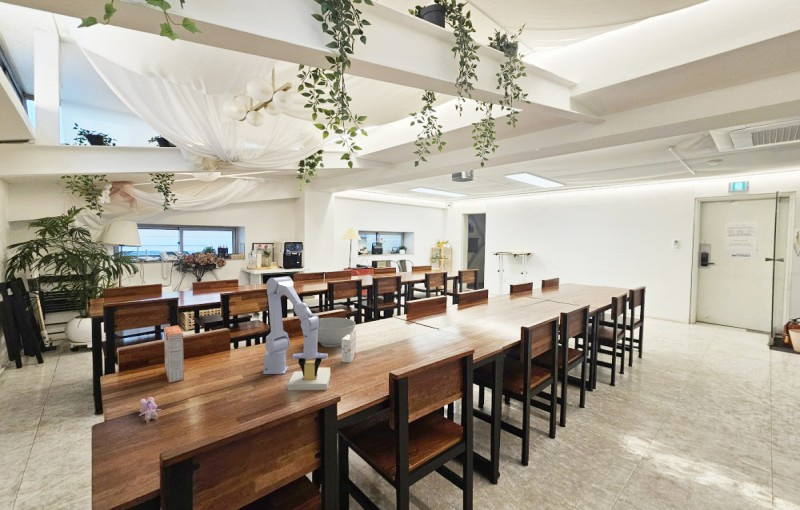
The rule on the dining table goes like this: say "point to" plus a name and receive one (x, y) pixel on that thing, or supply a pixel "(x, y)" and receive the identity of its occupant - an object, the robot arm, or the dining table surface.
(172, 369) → the cracker box
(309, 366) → the block
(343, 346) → the ink cartridge box
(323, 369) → the mat
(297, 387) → the holder
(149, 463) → the dining table surface
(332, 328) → the decorative bowl
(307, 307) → the robot arm
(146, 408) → the pink toy figurine
